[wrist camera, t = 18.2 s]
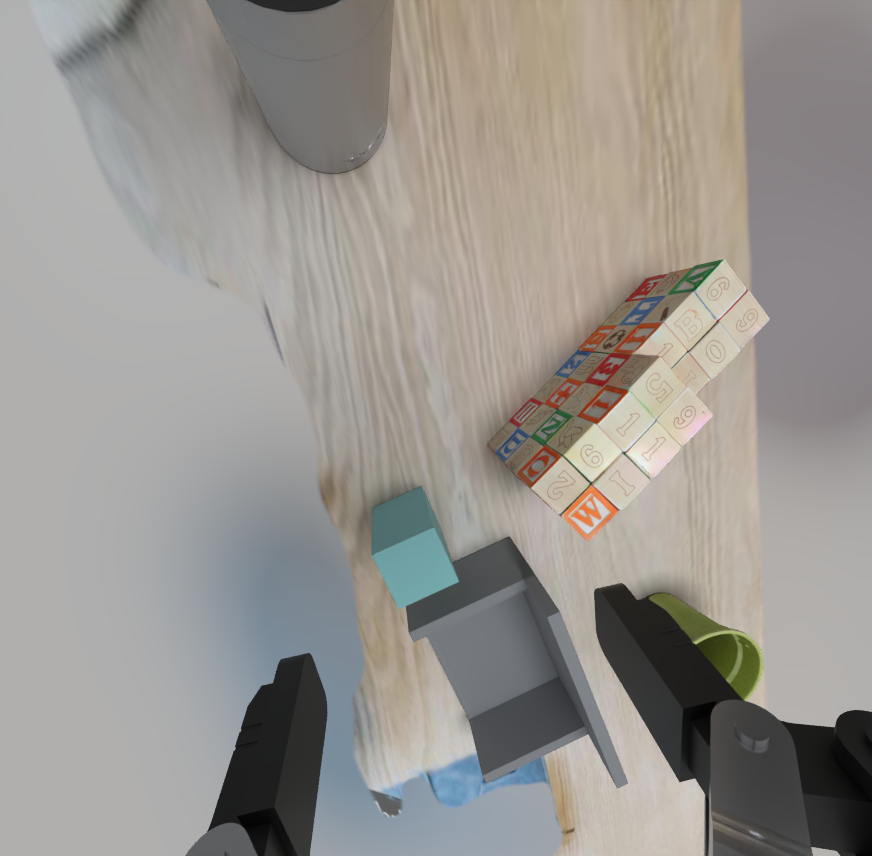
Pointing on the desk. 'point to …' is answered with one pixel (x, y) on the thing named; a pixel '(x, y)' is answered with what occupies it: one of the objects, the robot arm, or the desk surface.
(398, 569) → the block
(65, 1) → the desk surface
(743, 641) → the plant pot
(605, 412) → the stack of blocks
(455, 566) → the grey open tray
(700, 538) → the desk surface
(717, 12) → the desk surface
